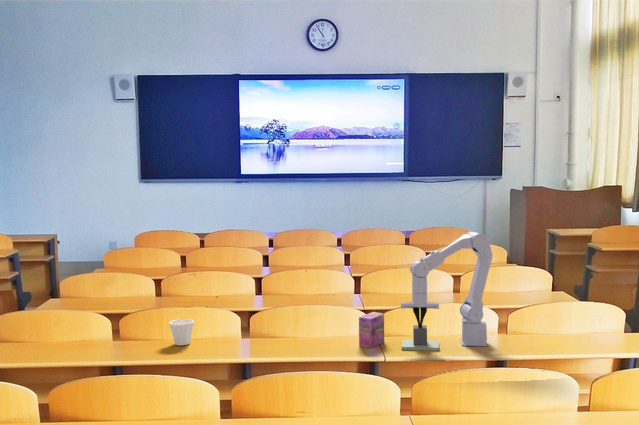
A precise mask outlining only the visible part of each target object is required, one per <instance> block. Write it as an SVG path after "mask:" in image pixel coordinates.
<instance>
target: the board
mask: <svg viewBox="0 0 639 425" xmlns="http://www.w3.org/2000/svg"><path fill="white" fill-rule="evenodd" d="M401 350H402V351H429V352H430V351H431V352H438V351H440V346H439V340H436V339H435V340H433V339H430V340H429V339H427V346H420V345H414V343H413V339H402V341H401Z"/></svg>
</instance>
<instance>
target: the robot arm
mask: <svg viewBox="0 0 639 425" xmlns="http://www.w3.org/2000/svg"><path fill="white" fill-rule="evenodd" d="M463 249H468V250H470V249H471V250H473V252H474V253H475V255H476V256H477V259H476V263H475V266H474V270H473V275H472V279H471V283H470V287H469V289H468V290H469V291H468V294H467V295H466V297H465V298H464V301H463V303H462V304H461V305H460V307H459V313H460V315H461V316H462V319H461V337H462V338H461V339H460V343H461V346H462V347H463V346H464V347H466V346H467V347H468V346H469V347H487V346H488V345H487V343H488V342H487V341H488V335H487V334H488V333H487V332H488V331H487V330H488V329H487V322H486V321H483V318H484V311H483V310H484V309H483V308H484V304H483V295H484V290H485V287H486V284H487V280H488V276H489V272H490V269H491V268H490V266H491V264H492V259H493V252H492V251H493V250H492V247H491V240H490V239H489V238H488V236H487V235H486V234H484V233H481V232H476V231H473V230H471V231H468V232H467V233H464V234H462V235H461V236H460V237H458V238H457V239H455V240H454V241H452V242H451V243H450V244H449V245H447V246H445V247H444V248H442V249H441V250H431V251H429V254H428V255H425V256H424V257H421V258H419V260H415V261H413V262H412V263H411V266H410V267H409V271H410V273H411V276H412V277H411V278H412V280H411V282H412V283H411V290H412V292H411V293H412V295H411V297H412V300H411V301H410V302H409V301H408V302H401V303H400V309H402V310H403V309H412V312H413V314H414V316H415V319H416V322H417V325H418V327H422V325H423V322H424V320H425V317H426V315H427V311H428V309H432V310H433V309H435V310H439V309H440V304H439V302H431V301H430V302H428V275H429V273H430V272H431V271H433V270H434V269H436V268H438V267H439V266H441V265H442V264H444V262H445V260H446V258H448V257H450V256H451V255H454V254H455V253H457V252H459V251H461V250H463Z"/></svg>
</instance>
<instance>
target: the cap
mask: <svg viewBox="0 0 639 425" xmlns="http://www.w3.org/2000/svg"><path fill="white" fill-rule="evenodd" d="M412 327H413V330H412V331H413V333H412V334H413V339H412V340H413V343H414V345H420V346H427V340H428V326H427V325H426V324H425V325H424V324H422V327H418V324H413V326H412Z"/></svg>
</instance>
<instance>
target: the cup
mask: <svg viewBox="0 0 639 425" xmlns="http://www.w3.org/2000/svg"><path fill="white" fill-rule="evenodd" d="M194 325H195V320H193V319H191V318H190V319H189V318H179V319H174V320H171V321H169V322H168V326H169V328H170V330H171V334H172V338H173V342H174V345H175V346H176V345H177V347H184V346H183V345H186V346H188V344H189V345H190V344H191V339H192V333H193V329H194V328H193V327H194Z"/></svg>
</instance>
